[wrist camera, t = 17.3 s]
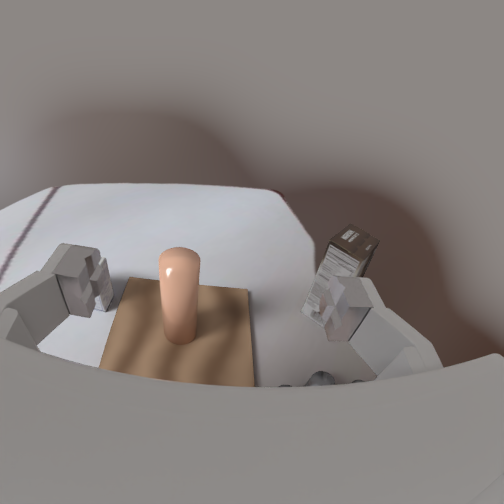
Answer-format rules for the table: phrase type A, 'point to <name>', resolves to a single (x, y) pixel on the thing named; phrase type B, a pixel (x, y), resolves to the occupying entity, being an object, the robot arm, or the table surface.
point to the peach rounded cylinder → (179, 293)
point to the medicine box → (104, 289)
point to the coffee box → (340, 265)
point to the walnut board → (188, 355)
